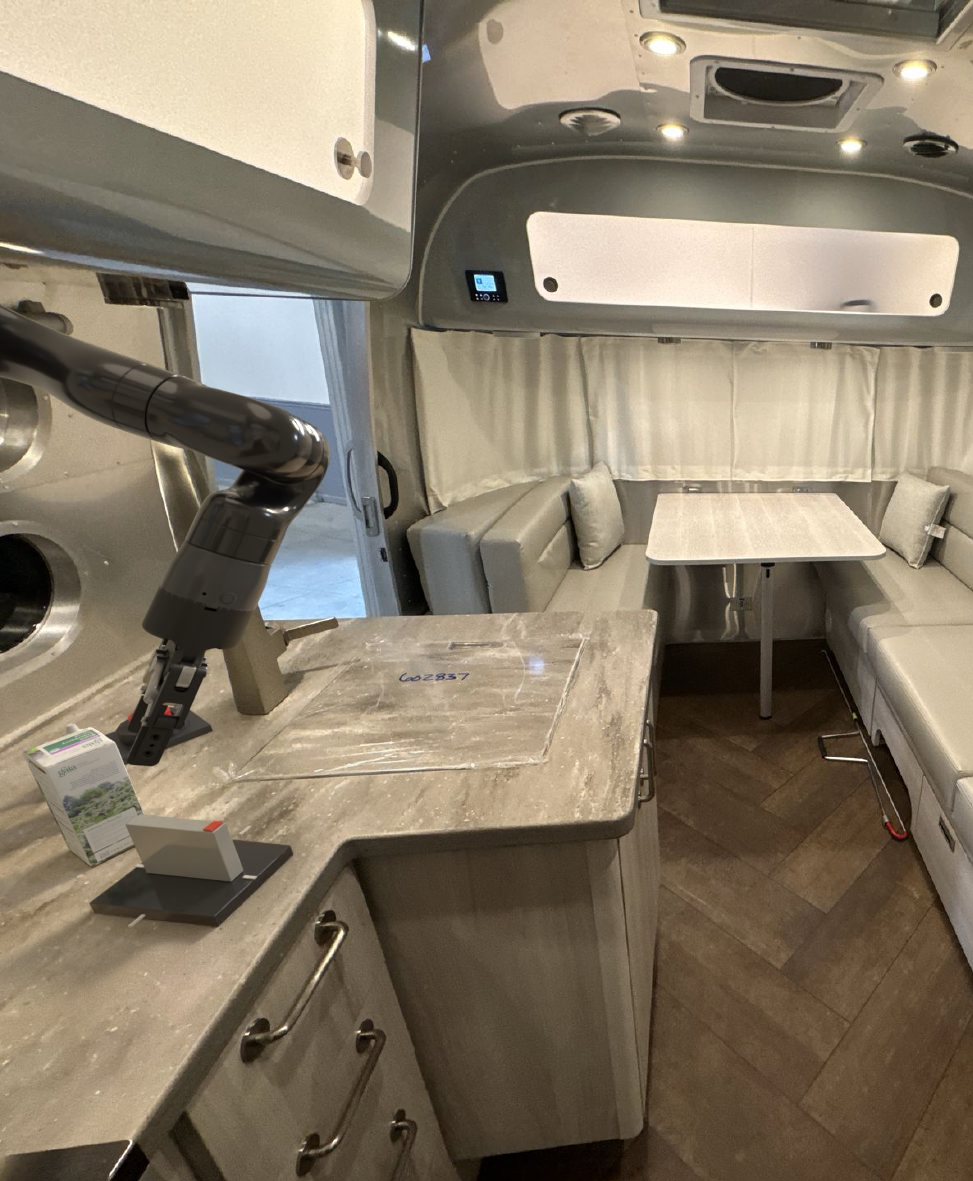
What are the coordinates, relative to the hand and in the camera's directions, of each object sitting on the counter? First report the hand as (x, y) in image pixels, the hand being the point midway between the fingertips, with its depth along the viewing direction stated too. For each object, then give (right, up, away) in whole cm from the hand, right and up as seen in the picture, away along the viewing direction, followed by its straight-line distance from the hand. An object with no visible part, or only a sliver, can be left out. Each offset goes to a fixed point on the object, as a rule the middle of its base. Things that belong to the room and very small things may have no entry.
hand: (140, 747), depth 62 cm
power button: (-31, -4, +31) cm, 44 cm away
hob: (-3, -18, +9) cm, 20 cm away
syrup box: (-17, -15, +14) cm, 27 cm away
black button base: (-31, -7, +32) cm, 45 cm away
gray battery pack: (-3, -16, +9) cm, 19 cm away
